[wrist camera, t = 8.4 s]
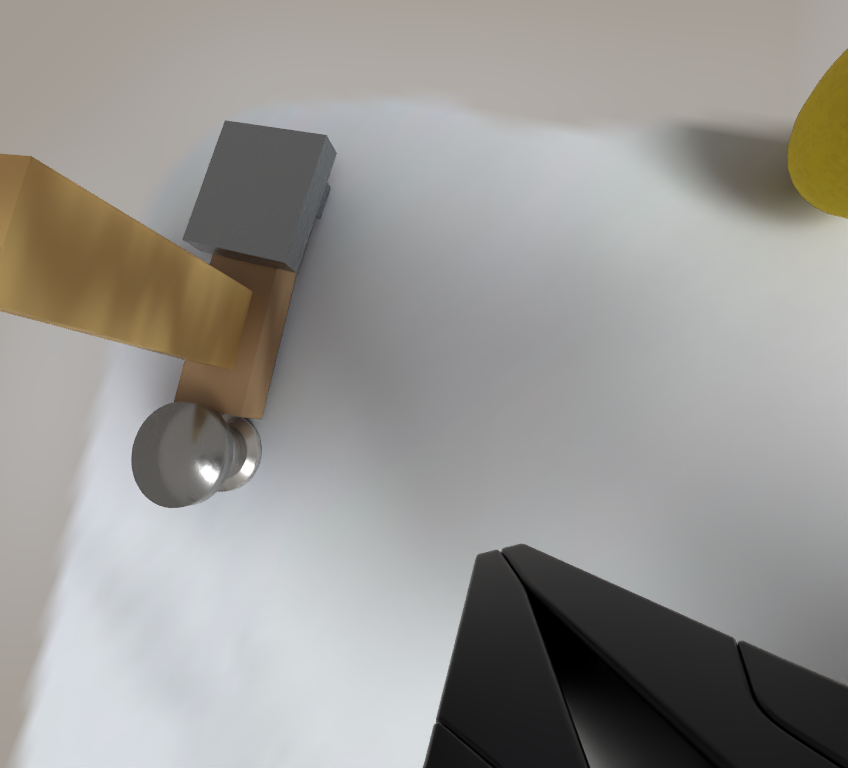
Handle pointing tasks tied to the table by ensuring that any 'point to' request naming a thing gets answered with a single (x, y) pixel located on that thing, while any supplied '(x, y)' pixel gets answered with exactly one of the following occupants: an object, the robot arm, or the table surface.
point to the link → (138, 288)
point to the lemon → (823, 143)
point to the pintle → (193, 454)
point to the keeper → (262, 195)
